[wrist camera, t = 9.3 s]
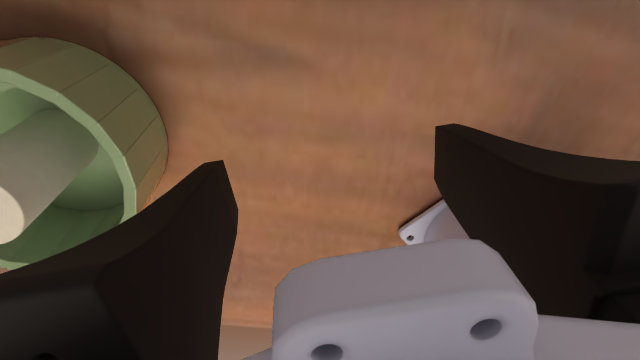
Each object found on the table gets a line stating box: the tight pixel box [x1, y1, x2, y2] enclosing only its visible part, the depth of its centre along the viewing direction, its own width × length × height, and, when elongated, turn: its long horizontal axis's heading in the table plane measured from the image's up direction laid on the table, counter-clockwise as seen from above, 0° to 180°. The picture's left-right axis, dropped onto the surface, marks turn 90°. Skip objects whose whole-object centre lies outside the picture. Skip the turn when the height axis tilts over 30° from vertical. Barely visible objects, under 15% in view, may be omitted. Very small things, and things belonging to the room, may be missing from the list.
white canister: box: [0, 109, 98, 244], centre depth 18 cm, size 4×4×7 cm
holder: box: [0, 37, 168, 270], centre depth 19 cm, size 11×11×6 cm
